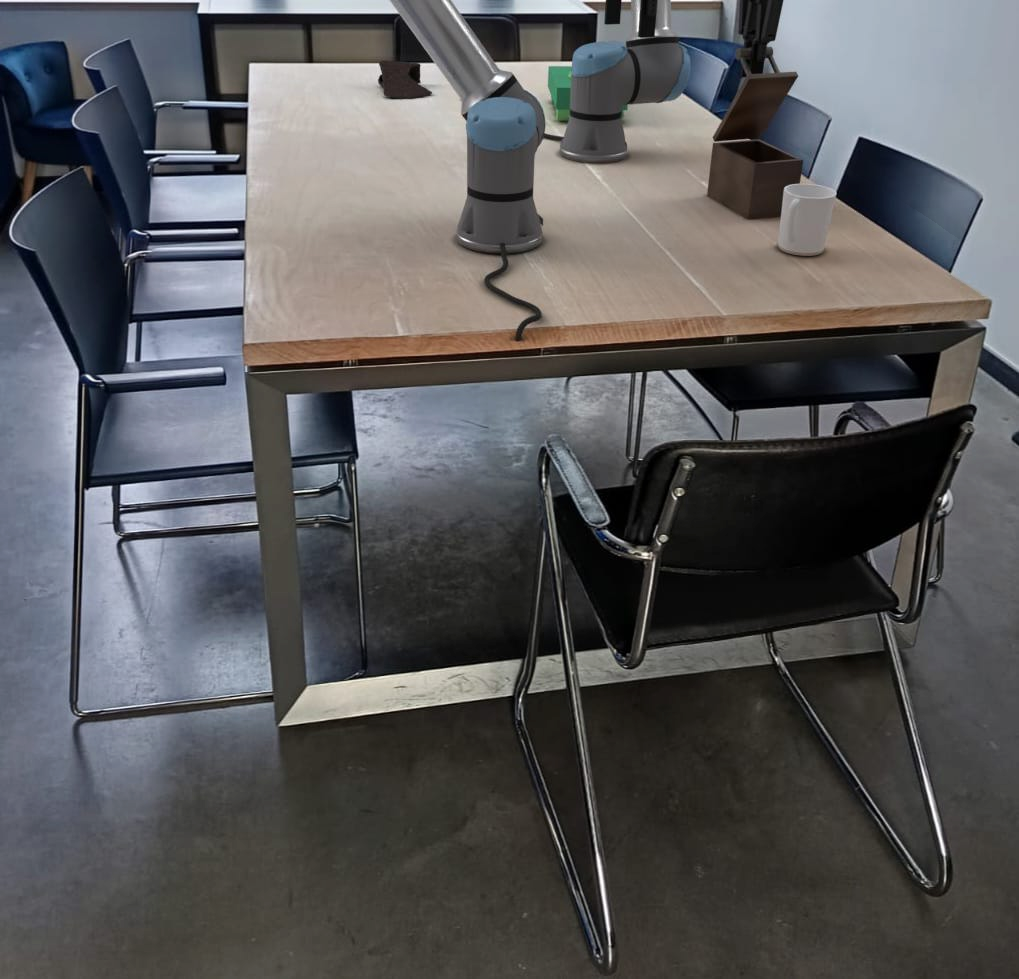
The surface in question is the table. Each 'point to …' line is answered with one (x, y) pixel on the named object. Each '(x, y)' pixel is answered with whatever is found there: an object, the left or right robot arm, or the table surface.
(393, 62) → the axe head
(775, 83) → the lid
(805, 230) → the mug
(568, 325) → the table surface
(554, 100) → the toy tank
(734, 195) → the chest
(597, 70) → the right robot arm
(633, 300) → the table surface
